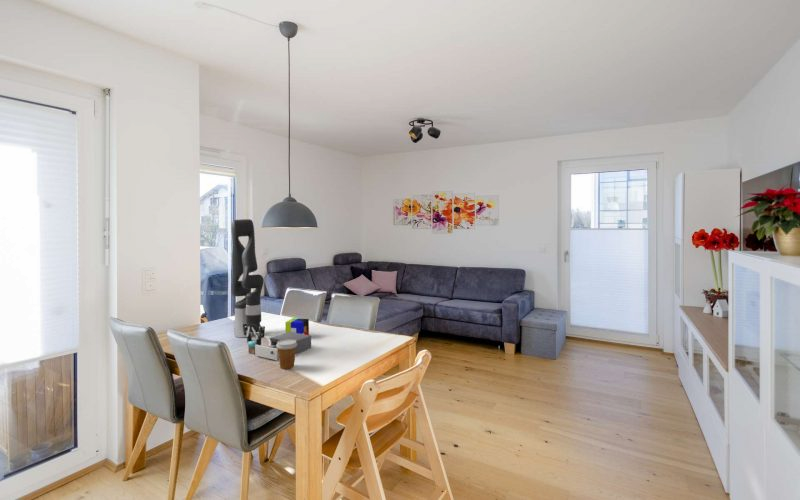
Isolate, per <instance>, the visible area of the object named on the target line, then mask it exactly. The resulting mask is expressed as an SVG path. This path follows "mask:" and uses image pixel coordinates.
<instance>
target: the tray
mask: <svg viewBox="0 0 800 500" xmlns="http://www.w3.org/2000/svg"><path fill="white" fill-rule="evenodd" d="M276 345H277V344H275V345H272V346H271V345H270V346H264V345H262V344H261V345H255V354H254V355H255V356H257V357H262V358H265V359H270V360H275V361H279V356H278V349H277V346H276Z"/></svg>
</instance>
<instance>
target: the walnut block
mask: <svg viewBox="0 0 800 500" xmlns="http://www.w3.org/2000/svg"><path fill="white" fill-rule="evenodd" d="M247 347H248V354H251V355H255V347H249V346H248V345H247Z"/></svg>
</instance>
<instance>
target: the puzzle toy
mask: <svg viewBox="0 0 800 500" xmlns="http://www.w3.org/2000/svg"><path fill="white" fill-rule="evenodd" d="M309 321H310V318H302V317H301V318H297V317H292V318H291V319H288V320H287V321H285V333H287V332H293V333H299V334H305V335H310V326H309V325H310V322H309Z"/></svg>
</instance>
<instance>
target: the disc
mask: <svg viewBox="0 0 800 500" xmlns="http://www.w3.org/2000/svg"><path fill="white" fill-rule="evenodd" d="M255 345H257V341H256V339H252V340H250V341H248V344H247V347H248V346H249V347H255Z"/></svg>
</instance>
